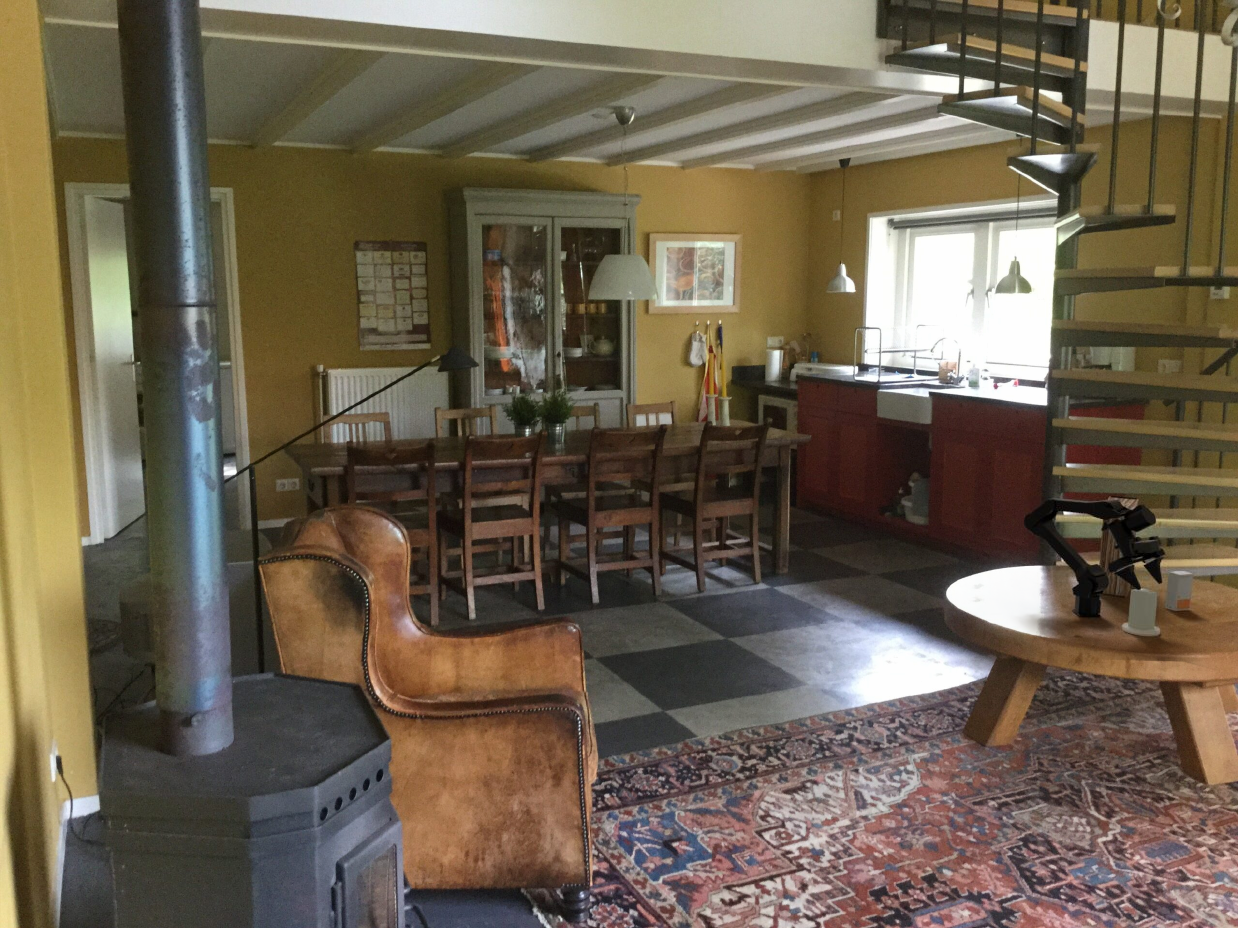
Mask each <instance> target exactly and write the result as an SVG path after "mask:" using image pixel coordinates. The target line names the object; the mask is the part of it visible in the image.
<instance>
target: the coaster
mask: <svg viewBox="0 0 1238 928" xmlns="http://www.w3.org/2000/svg"><path fill="white" fill-rule="evenodd" d="M1121 630H1122V632H1124V633H1128V634H1130V635H1135V636H1139V637H1140V636H1141V637H1157V636H1159V635H1160V634H1161V629H1160V627H1158V626H1156V625H1155V628H1154V629H1149V630H1144V631H1142V630H1139V629H1136V628H1133V627H1129V626H1128V622H1124V623H1123V624H1122V626H1121Z"/></svg>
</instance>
